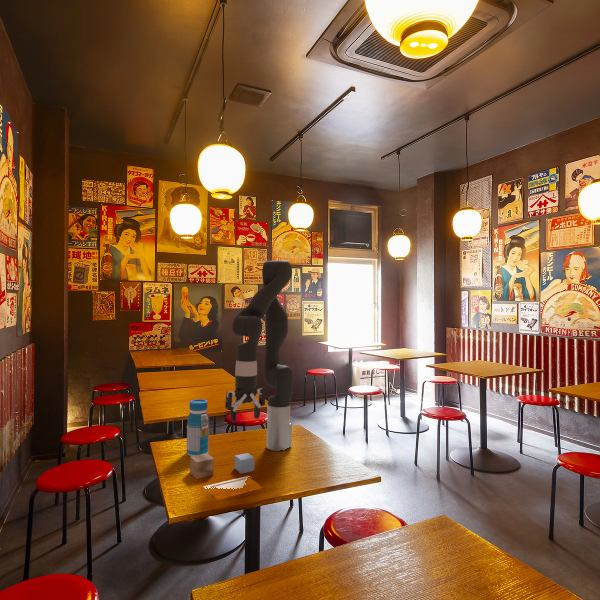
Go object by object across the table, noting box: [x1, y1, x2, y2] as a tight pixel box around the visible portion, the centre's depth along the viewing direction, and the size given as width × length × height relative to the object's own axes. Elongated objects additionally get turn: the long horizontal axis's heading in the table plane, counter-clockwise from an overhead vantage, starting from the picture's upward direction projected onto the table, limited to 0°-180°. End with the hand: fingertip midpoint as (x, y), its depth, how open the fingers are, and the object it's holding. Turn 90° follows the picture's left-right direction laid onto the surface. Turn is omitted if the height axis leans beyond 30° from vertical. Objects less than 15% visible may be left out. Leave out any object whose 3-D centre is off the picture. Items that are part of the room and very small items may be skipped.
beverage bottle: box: [186, 398, 210, 457], centre depth 163 cm, size 8×8×20 cm
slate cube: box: [234, 452, 255, 474], centre depth 148 cm, size 5×5×5 cm
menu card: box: [203, 475, 251, 490], centre depth 134 cm, size 16×11×1 cm
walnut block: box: [189, 452, 215, 480], centre depth 144 cm, size 6×6×6 cm
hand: (245, 420), depth 148 cm, fingers open, 8 cm apart
